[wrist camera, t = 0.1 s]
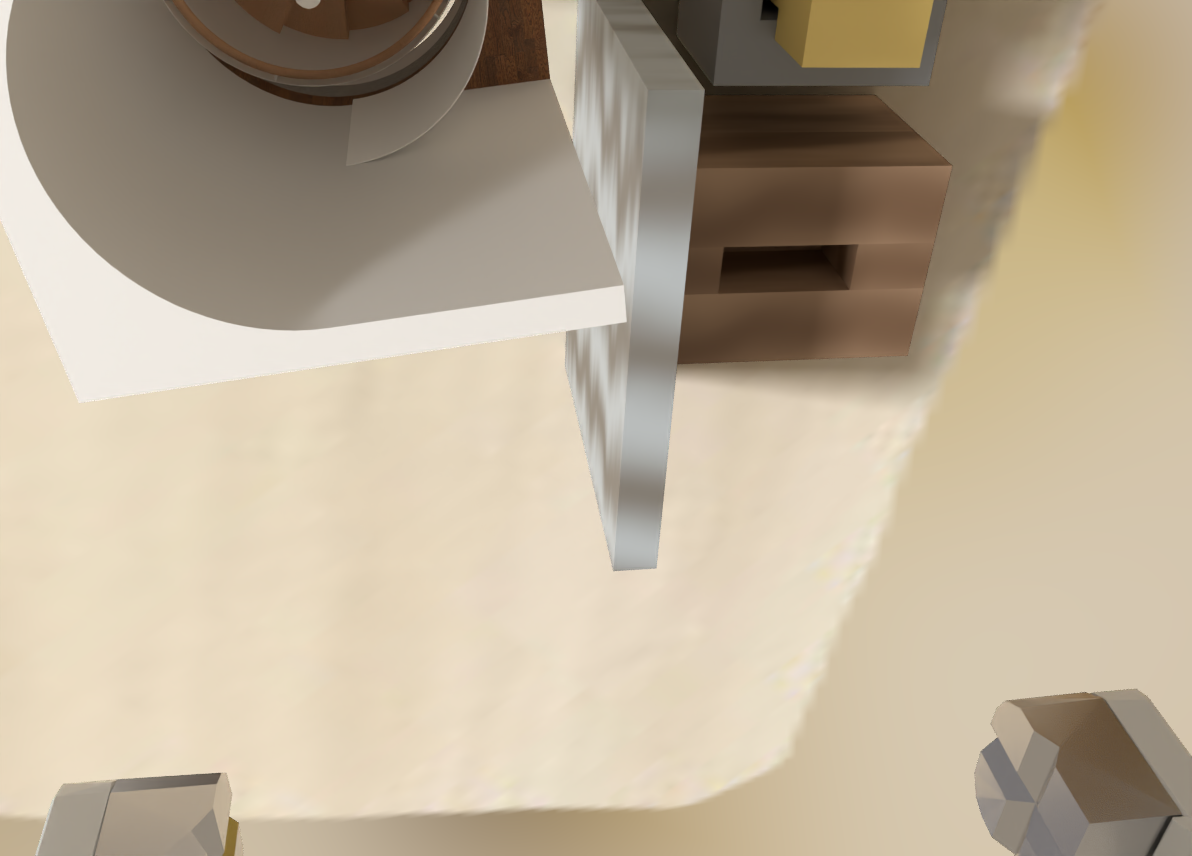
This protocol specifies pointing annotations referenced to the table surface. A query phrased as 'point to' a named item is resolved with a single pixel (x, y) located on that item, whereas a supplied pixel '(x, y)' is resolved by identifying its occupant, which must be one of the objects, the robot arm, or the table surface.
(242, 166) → the display case
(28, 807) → the table surface
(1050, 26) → the table surface
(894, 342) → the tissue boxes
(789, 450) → the table surface
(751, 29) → the dark gray slotted block
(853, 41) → the yellow tabbed block
